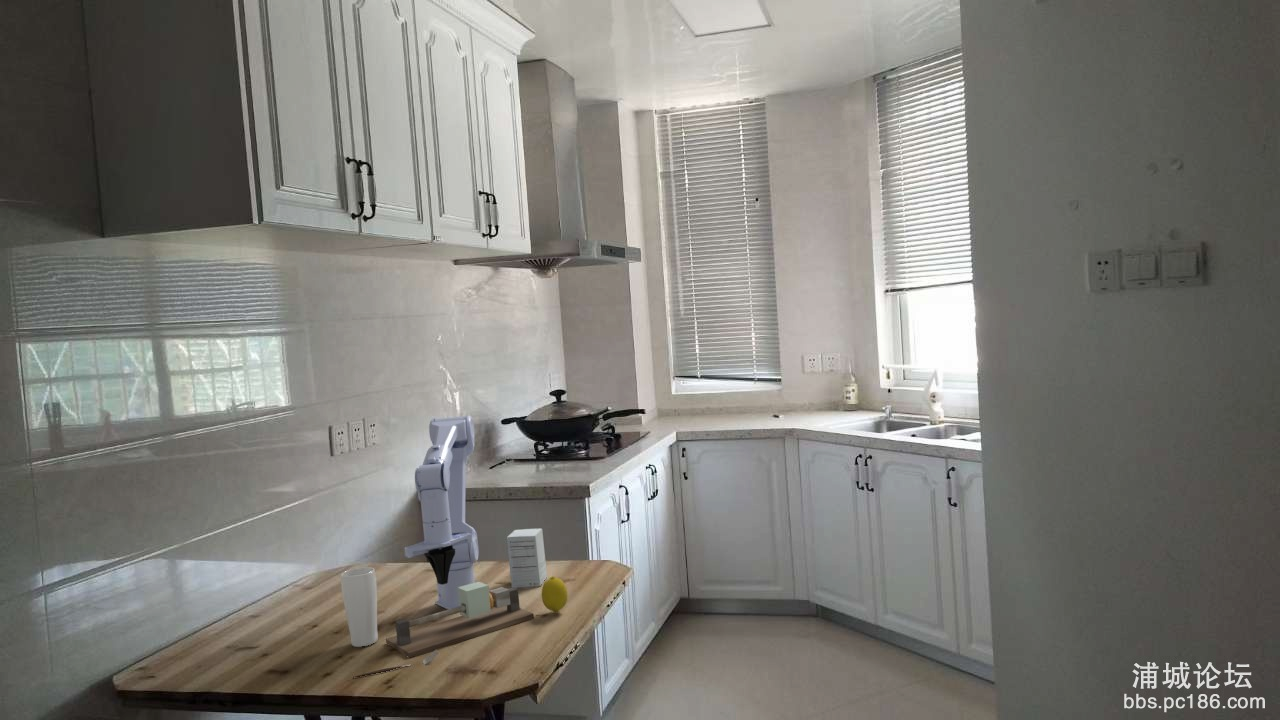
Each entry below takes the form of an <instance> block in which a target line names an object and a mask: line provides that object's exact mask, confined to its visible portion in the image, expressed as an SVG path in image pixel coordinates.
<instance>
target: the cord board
mask: <svg viewBox="0 0 1280 720" xmlns="http://www.w3.org/2000/svg"><path fill="white" fill-rule="evenodd" d="M489 597H490V607H491V612H490V613H487V614H484V615H480V616H477V617H474V618H471V619H469V618H467V617H465V616H462V615H459V616H457V617H453V618H450V619H446V620H444V621H440V622H437V623H433V624H430V625H427V626H423V627H420V628H417V629H413V630H411V631H410V628H412V627H415V626H418V625H423V624H425V623H428V622H431V621H435V620H438V619H442V618H446V617H450V616H452V615H456V614H460V612H463V611H466V605H463V606H459V607H456V608H452V609H449V610H448V609H446V610H443V611H439V612H436V613H432V614H428V615H425V616H422V617H419V618H415V619H411V620H407V619H405V618H403V619H399V620H397V621H395V631H396V632H395V633H396V635H394V636H390V637H387V638H385V643H387V644H386V645H388V644H389V645H391V646H392V647H391V646H390V647H391V648H393V647H394V648H395V649H394V648H393V649H394V650H396V649H397V650H398V651H397V650H396V651H397V652H399V651H400V652H399V653H401V654H402V653H403V654H402V655H404V656H405V655H406V656H405V657H407V656H408V657H409V659H411V658H414V657H417V656H416V655H418V656H420V654H421V655H423V654H427V653H429V652H432V651H433V652H434V651H435V650H436V649H437V650H439V649H443V648H445V647H448V646H452V645H455V644H458V643H461V642H464V641H467V640H470V639H473V638H477V637H480V636H483V635H486V634H489V633H492V632H495V631H498V630H501V629H502V630H503V629H504V628H508V627H511V626H515V625H518V624H520V623H523V622H526V621H529V620H533V619H535V617H534V615H535V614H534V613H533V612H530V611H528V610H525V609H523V608H521V607H520V606H521V605H520V598H519V588H512V587H510V588H506V587H503V586H500V587H498V588H494V589H491V590H490V589H489ZM389 645H388V646H389ZM437 650H436V651H437ZM413 656H414V657H413ZM408 657H407V658H408ZM410 657H411V658H410Z"/></svg>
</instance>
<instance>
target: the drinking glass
mask: <svg viewBox="0 0 1280 720" xmlns="http://www.w3.org/2000/svg"><path fill="white" fill-rule="evenodd" d="M340 584H341V592H342V601H343V605H344V610H345V616H346V620H347V625H348V631H349V636H350V644H351V645H352V646H353V647H355V648H363V647H362V646H365V647H368V645H369V646H371V644H372V645H374V644H375V643H376V642H377V641H378V639H379V633H378V595H377V594H378V593H377V592H378V591H377V590H378V587H377V577H376V571H375V568H374V567H370V566H369V567H368V566H363V567H355V568H351V569H348V570H346V571H344V572H342V573H340ZM373 643H374V644H373Z"/></svg>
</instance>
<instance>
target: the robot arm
mask: <svg viewBox="0 0 1280 720" xmlns="http://www.w3.org/2000/svg"><path fill="white" fill-rule="evenodd" d="M428 425H429V426H428V428H429V429H428V432H429V438H430V441H431V443H432V445H431V446H429V448H428V449H427V451H426V453H425V457H424V459H423V462H422V464H421V465H419V466H418V467H416V469H415V470H414V484H415V489H416V491H417V498H418V501H419V502H420V506H421V516H422V517H421V518H422V528H423V529H422V530H423V538H424V540H423V541H421V542H418V543H415V544H413V545H409V546H406V547H404V557H405V558H408V559H411V558H414V557H416V556H419V555H424V556H425V558H426V560H427V562H428V563H429V564H430V566H431V568H432V570H433V572H434V575H435V578H436V588H437V597H438V599H437V600H435V602H434V604H435V605H437V606H439V607H442V608H444V609H446V610H449V609H452V608H456V607H459V597H458V587H461V586H465V585H468V584H472V583H475V575H474V564H476V562H477V561H478V559H479V543H478V533H477V531H476V529H475V528H474V527H473V526H471V525H470V524H468V523H466V488H467V487H466V484H467V483H466V481H467V480H466V476H467V475H466V473H467V472H466V469H467V460H468V456H469V455H471V454H472V453H474V448H475V424H474V419H473V417H472V416H471V415H464V416H454V417H442V418H441V417H440V418H436V417H435V418H432V419H431V420H430V421H429V424H428Z"/></svg>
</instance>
